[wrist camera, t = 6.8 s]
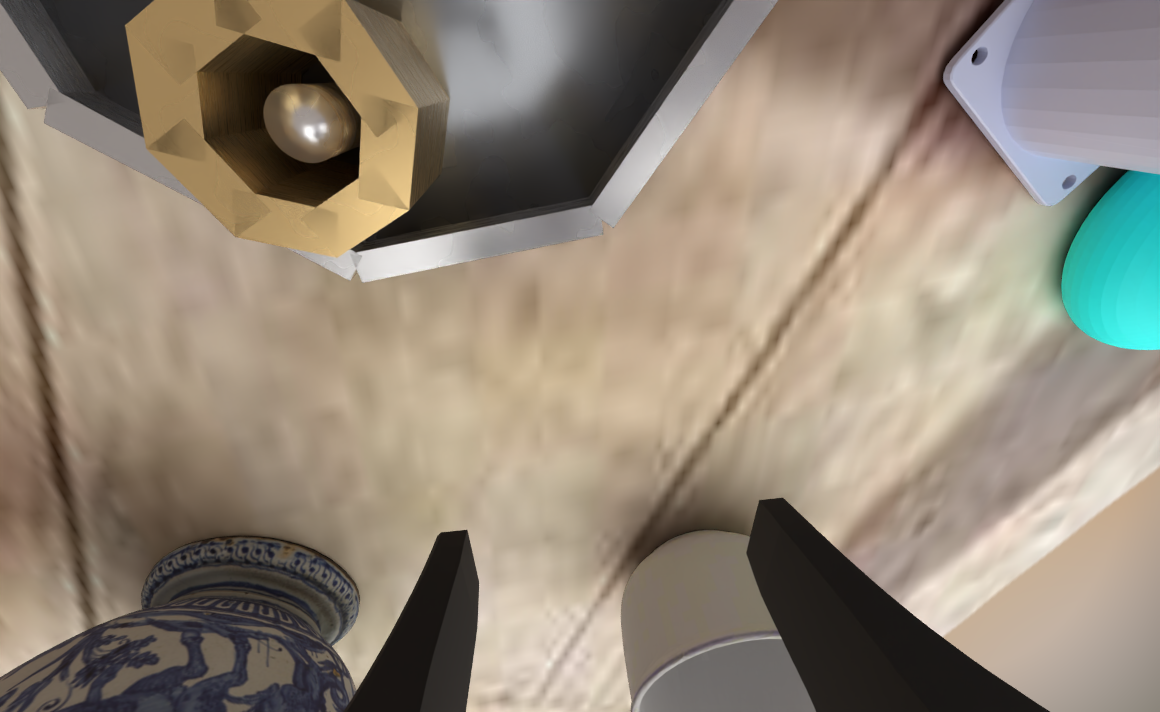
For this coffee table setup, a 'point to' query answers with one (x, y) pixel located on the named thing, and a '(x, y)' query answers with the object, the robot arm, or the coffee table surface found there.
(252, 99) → the gear
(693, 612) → the teacup
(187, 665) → the decorative vase
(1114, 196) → the donuts
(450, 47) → the tray
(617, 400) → the coffee table surface
